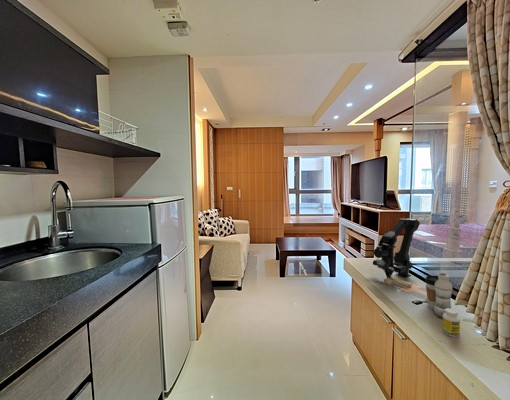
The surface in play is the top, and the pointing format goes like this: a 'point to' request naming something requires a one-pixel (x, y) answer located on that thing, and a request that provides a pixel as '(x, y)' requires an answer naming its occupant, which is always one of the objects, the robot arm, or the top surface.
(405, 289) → the grey flat panel
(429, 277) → the coffee cup
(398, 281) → the oak T block
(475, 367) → the top surface
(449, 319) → the supplement bottle
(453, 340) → the top surface
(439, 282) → the plastic bottle
